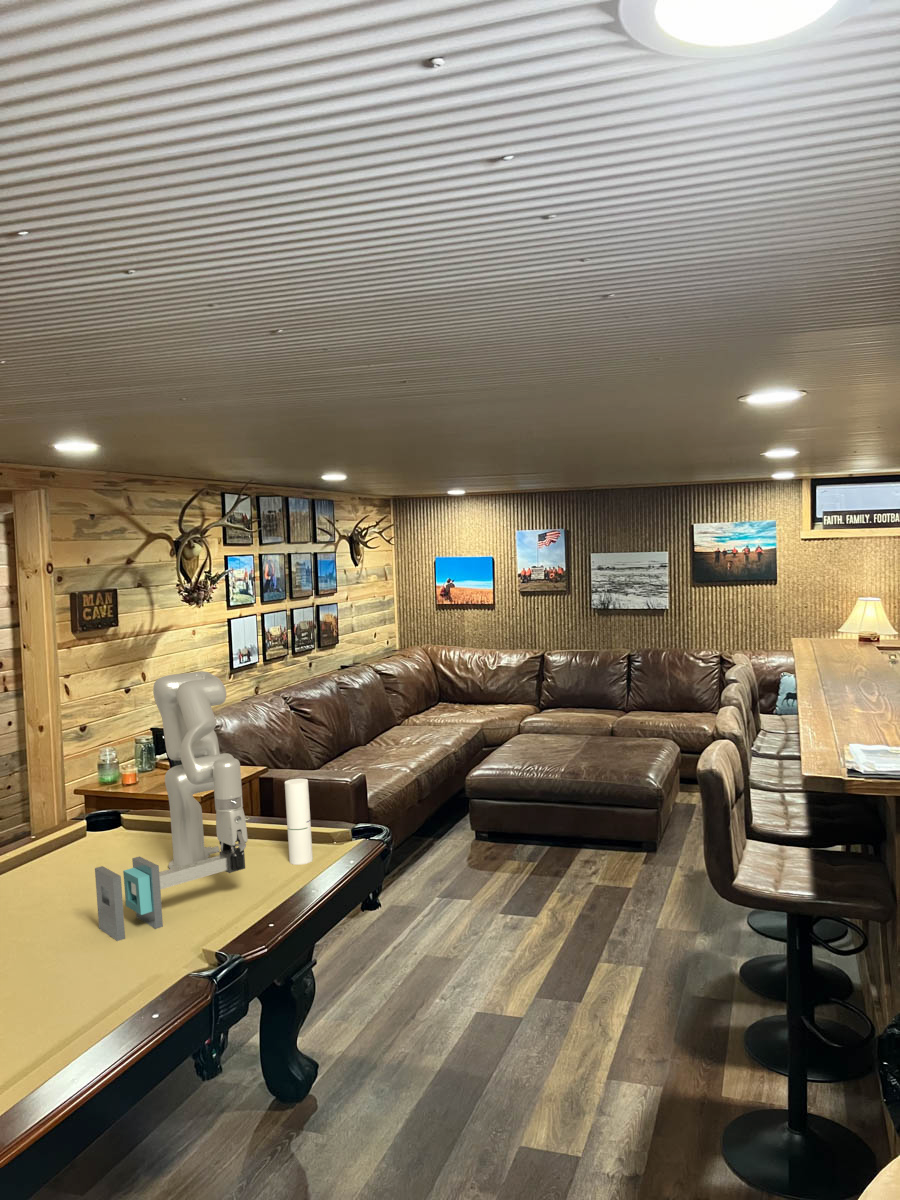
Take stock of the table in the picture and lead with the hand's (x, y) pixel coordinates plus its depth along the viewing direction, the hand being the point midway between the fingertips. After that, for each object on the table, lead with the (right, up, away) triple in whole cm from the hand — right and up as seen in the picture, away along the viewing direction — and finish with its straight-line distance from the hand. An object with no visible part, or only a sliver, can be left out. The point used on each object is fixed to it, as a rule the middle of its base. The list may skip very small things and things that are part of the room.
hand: (232, 866), depth 259 cm
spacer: (-20, -6, -18) cm, 28 cm away
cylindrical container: (+15, -7, +28) cm, 32 cm away
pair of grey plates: (-22, -10, -20) cm, 31 cm away
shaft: (-10, -2, -9) cm, 13 cm away
